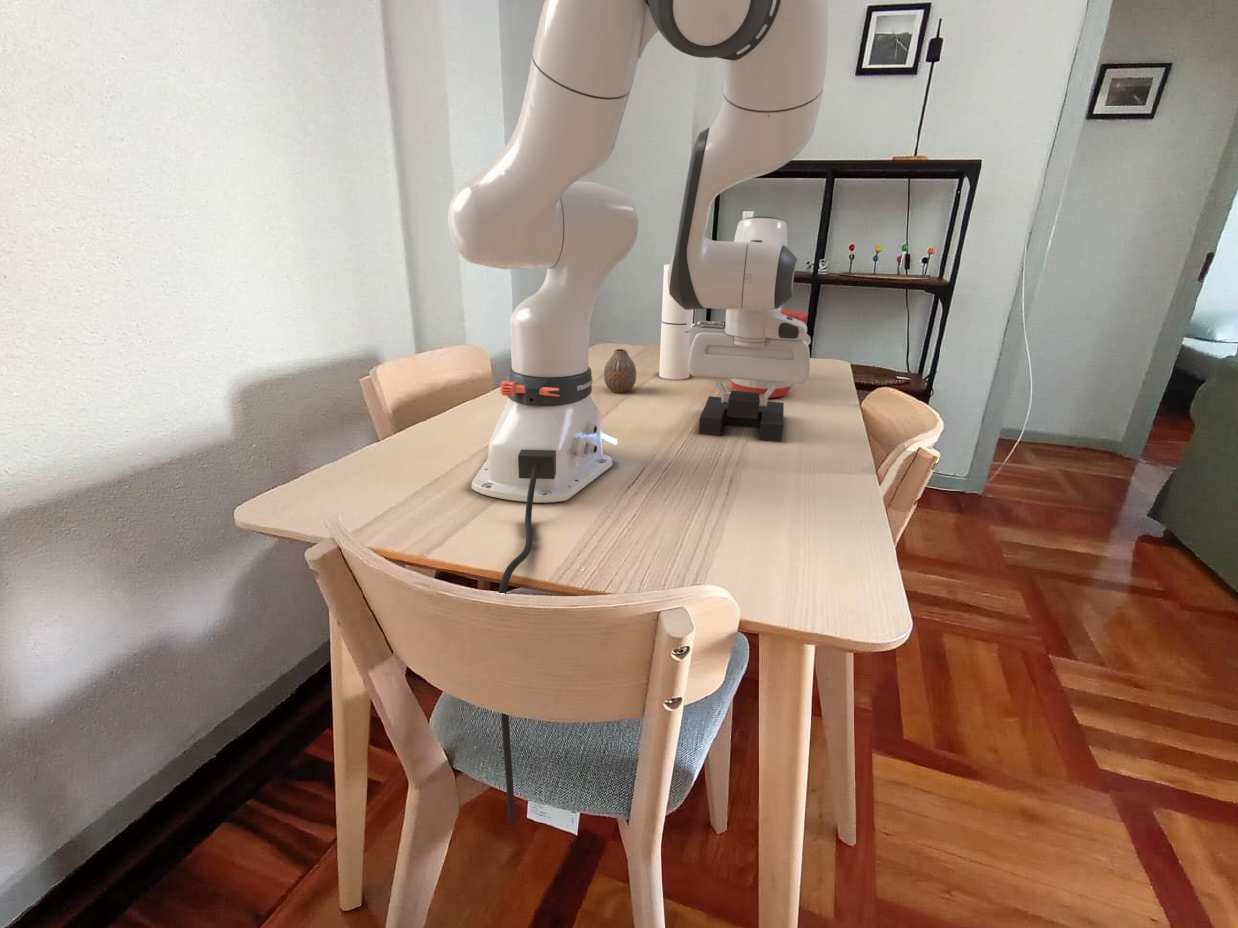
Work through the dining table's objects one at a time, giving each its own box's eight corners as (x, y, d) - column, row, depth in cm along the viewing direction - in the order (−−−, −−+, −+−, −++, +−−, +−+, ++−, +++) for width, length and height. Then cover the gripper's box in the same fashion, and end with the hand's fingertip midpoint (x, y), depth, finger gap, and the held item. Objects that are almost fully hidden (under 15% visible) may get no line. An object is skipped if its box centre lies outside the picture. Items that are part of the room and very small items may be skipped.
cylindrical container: (654, 373, 147) (659, 264, 137) (682, 371, 149) (688, 264, 139) (665, 380, 140) (671, 266, 131) (694, 378, 142) (701, 266, 133)
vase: (637, 387, 134) (638, 347, 131) (634, 395, 128) (635, 354, 124) (605, 385, 135) (606, 346, 131) (602, 394, 128) (602, 352, 125)
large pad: (781, 442, 103) (783, 425, 102) (698, 433, 106) (699, 417, 105) (781, 417, 115) (783, 402, 114) (707, 411, 119) (709, 396, 117)
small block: (756, 419, 103) (758, 402, 102) (726, 416, 104) (728, 399, 103) (758, 409, 108) (760, 392, 107) (730, 406, 109) (731, 390, 108)
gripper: (686, 322, 100) (681, 403, 105) (816, 330, 95) (804, 414, 100) (692, 317, 105) (687, 394, 111) (815, 324, 101) (803, 404, 106)
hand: (744, 404), depth 105 cm, fingers closed on small block, 5 cm apart
